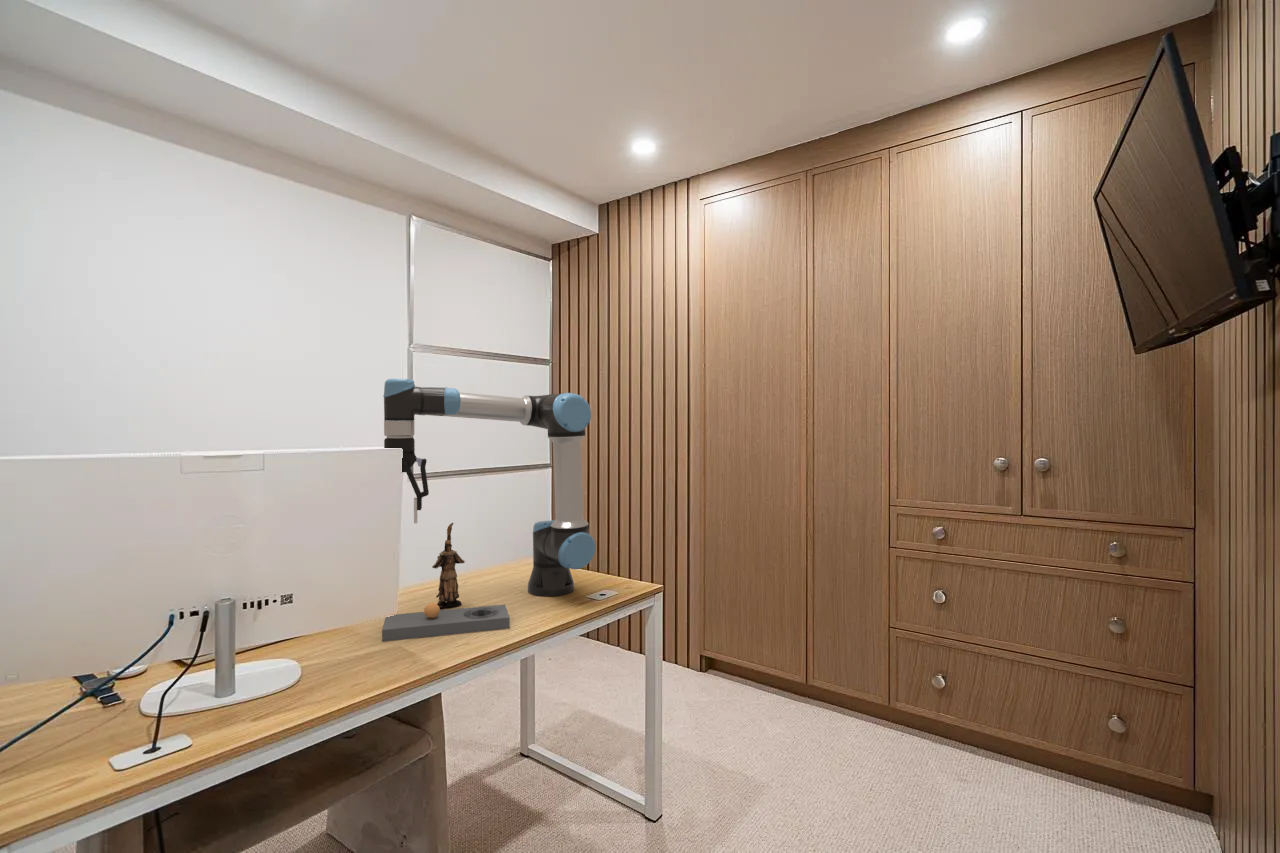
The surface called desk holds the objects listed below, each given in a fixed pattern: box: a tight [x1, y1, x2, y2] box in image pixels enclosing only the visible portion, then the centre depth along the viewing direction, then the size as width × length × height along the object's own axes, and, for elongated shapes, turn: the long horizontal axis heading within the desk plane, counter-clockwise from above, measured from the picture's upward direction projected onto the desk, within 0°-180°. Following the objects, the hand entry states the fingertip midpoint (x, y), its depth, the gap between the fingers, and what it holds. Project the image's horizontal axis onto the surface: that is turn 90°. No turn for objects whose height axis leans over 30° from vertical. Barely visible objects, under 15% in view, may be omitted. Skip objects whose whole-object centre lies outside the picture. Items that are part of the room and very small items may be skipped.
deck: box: [381, 604, 511, 643], centre depth 167 cm, size 32×12×3 cm, turn 108°
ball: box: [423, 602, 440, 618], centre depth 166 cm, size 4×4×4 cm
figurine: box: [431, 522, 466, 610], centre depth 185 cm, size 6×10×25 cm
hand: (399, 523), depth 163 cm, fingers open, 7 cm apart
